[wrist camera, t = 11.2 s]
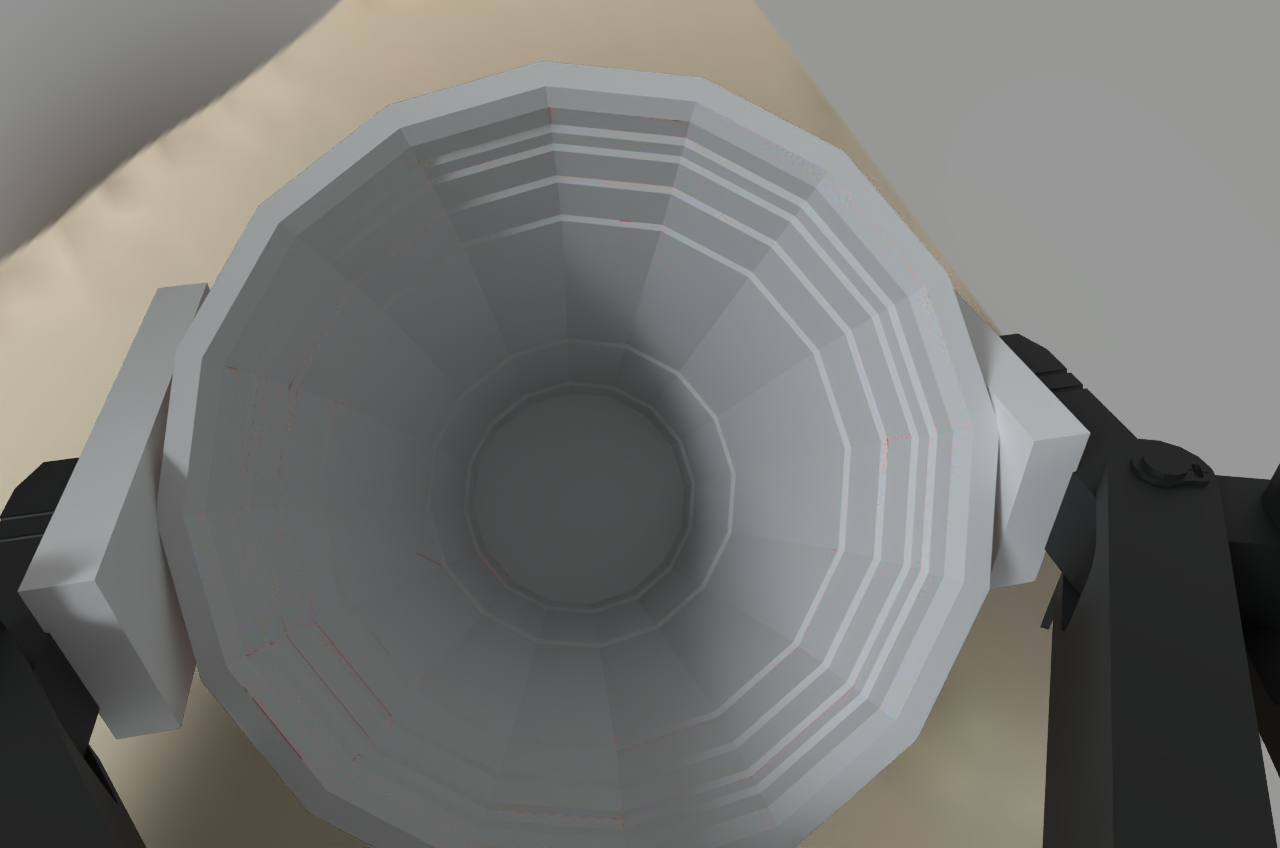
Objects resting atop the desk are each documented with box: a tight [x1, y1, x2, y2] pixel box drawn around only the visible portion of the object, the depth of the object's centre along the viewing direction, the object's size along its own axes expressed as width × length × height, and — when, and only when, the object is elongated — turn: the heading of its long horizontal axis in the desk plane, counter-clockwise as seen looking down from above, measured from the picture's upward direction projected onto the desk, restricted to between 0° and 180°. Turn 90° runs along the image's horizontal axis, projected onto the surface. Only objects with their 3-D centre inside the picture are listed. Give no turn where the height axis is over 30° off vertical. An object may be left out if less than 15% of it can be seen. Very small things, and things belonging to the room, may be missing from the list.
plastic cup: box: [156, 61, 999, 848], centre depth 17 cm, size 11×11×12 cm
